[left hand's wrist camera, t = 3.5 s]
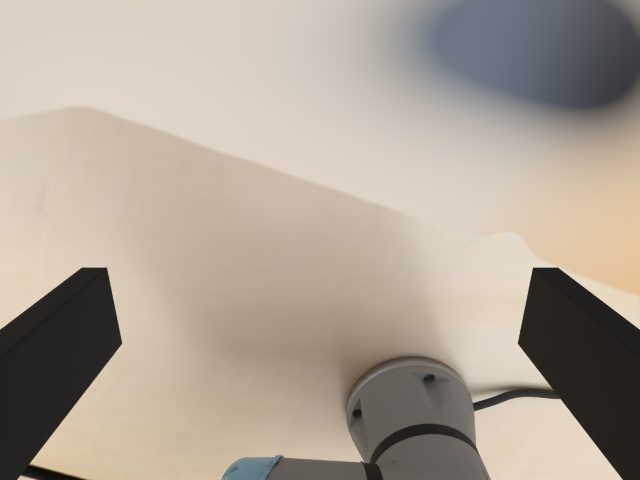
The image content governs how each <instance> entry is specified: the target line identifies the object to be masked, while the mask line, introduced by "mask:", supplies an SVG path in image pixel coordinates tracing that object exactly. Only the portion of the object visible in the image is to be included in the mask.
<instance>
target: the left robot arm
mask: <svg viewBox="0 0 640 480" xmlns="http://www.w3.org/2000/svg"><path fill="white" fill-rule="evenodd" d="M121 344H122V340H121V335H120V330H119V325H118V320H117V315H116V310H115V305H114V300H113V295H112V290H111V286H110V281H109V276H108V271H107V268H81V269H80V270H78V271H77V272H76V273H74V274H73V275H72V276H70V277H69V278H68V279H66V280H65V281H64V282H63V283H61V284H60V285H59V286H57V287H56V288H55V289H53V290H52V291H51V292H49V293H48V294H47V295H45V296H44V297H43V298H41V299H40V300H39V301H37V302H36V303H35V304H34V305H32V306H31V307H30V308H28V309H27V310H26V311H24V312H23V313H22V314H20V315H19V316H18V317H16V318H15V319H14V320H12V321H11V322H10V323H8V324H7V325H6V326H5V327H3V328H2V329H1V330H0V480H17V479H18V478H19V477H20V475H21V474H22V473H23V471H24V470H25V469H26V468H27V466H28V465H29V464H30V462H31V461H32V460H33V458H34V457H35V456H36V455H37V453H38V452H39V451H40V449H41V448H42V447H43V445H44V444H45V443H46V442H47V440H48V439H49V438H50V436H51V435H52V434H53V433H54V431H55V430H56V429H57V427H58V426H59V425H60V423H61V422H62V421H63V420H64V418H65V417H66V416H67V414H68V413H69V412H70V410H71V409H72V408H73V407H74V405H75V404H76V403H77V401H78V400H79V399H80V398H81V396H82V395H83V394H84V392H85V391H86V390H87V388H88V387H89V386H90V385H91V383H92V382H93V381H94V379H95V378H96V377H97V375H98V374H99V373H100V372H101V370H102V369H103V368H104V366H105V365H106V364H107V363H108V361H109V360H110V359H111V357H112V356H113V355H114V353H115V352H116V351H117V350H118V348H119V347H120V346H121ZM518 344H519V346H520V347H521V348H522V350H523V351H524V352H525V353H526V355H527V356H528V357H529V359H530V360H531V361H532V363H533V364H534V365H535V366H536V368H537V369H538V370H539V372H540V373H541V374H542V375H543V377H544V378H545V379H546V381H547V382H548V383H549V385H550V386H551V387H552V388H553V390H554V391H545V390H535V389H520V390H513V391H508V392H505V393H502V394H500V395H497V396H494V397H492V398H488V399H485V400H482V401H479V402H475V403H472V399H471V396H470V394H469V392H468V390H467V388H466V386H465V384H464V382H463V381H462V379H461V378H460V377H459V376H458V375H457V374H456V373H455V372H454V371H453V370H452V369H450V368H449V367H447V366H446V365H444V364H442V363H440V362H437V361H434V360H431V359H427V358H420V357H405V358H398V359H394V360H390V361H387V362H384V363H382V364H380V365H377V366H376V367H374V368H372V369H371V370H369V371H368V372H367V373H365V374H364V375H363V376H362V377H361V378H360V379H359V380H358V381H357V383H356V384H355V385H354V387H353V389H352V390H351V392H350V395H349V398H348V401H347V422H348V428H349V432H350V434H351V437H352V439H353V442H354V443H355V445H356V447H357V449H358V451H359V453H360V455H361V457H362V459H363V460H364V462H365V463H364V462H362V461H361V463H358V462H342V461H326V460H310V459H294V458H284V457H283V456H282V455H277V456H275V457H274V458H273V457H246V458H242V459H239V460H237V461H236V462H234V463H233V464H232V465H231V466H230V467H229V468H228V469H227V470H226V472H225V473H224V475H223V477H222V479H221V480H491V479H490V477H489V475H488V472H487V470H486V468H485V466H484V464H483V461H482V459H481V457H480V455H479V453H478V450H477V448H476V437H475V418H474V411H477V410H480V409H483V408H487V407H490V406H493V405H496V404H499V403H502V402H504V401H507V400H509V399H513V398H518V397H541V398H550V399H561V400H562V401H563V403H564V404H565V405H566V407H567V408H568V409H569V410H570V412H571V413H572V414H573V416H574V417H575V418H576V420H577V421H578V422H579V423H580V425H581V426H582V427H583V429H584V430H585V431H586V433H587V434H588V435H589V436H590V438H591V439H592V440H593V442H594V443H595V444H596V445H597V447H598V448H599V449H600V451H601V452H602V453H603V455H604V456H605V457H606V458H607V460H608V461H609V462H610V464H611V465H612V466H613V468H614V469H615V470H616V471H617V473H618V474H619V475H620V477H621V478H622V479H623V480H640V330H639V329H638V328H637V327H635V326H634V325H633V324H632V323H630V322H629V321H628V320H626V319H625V318H624V317H622V316H621V315H620V314H618V313H617V312H616V311H614V310H613V309H612V308H610V307H609V306H608V305H606V304H605V303H604V302H603V301H601V300H600V299H599V298H597V297H596V296H595V295H593V294H592V293H591V292H589V291H588V290H587V289H585V288H584V287H583V286H581V285H580V284H579V283H577V282H576V281H575V280H574V279H572V278H571V277H570V276H568V275H567V274H566V273H564V272H563V271H562V270H560V269H559V268H533V271H532V276H531V281H530V286H529V290H528V295H527V300H526V305H525V310H524V315H523V320H522V325H521V330H520V335H519V340H518Z"/></svg>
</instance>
